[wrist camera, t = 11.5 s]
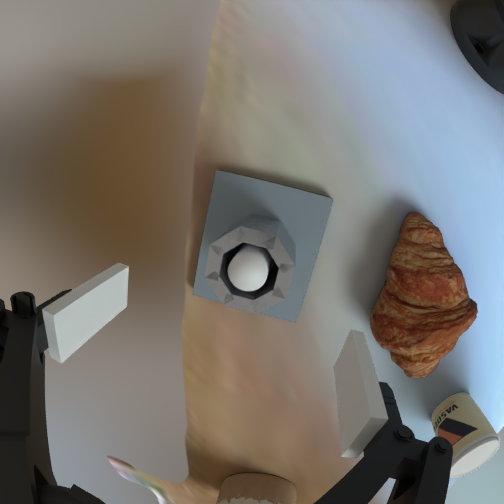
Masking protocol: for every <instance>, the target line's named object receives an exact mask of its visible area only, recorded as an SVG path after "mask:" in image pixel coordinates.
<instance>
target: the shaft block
mask: <svg viewBox="0 0 504 504" xmlns="http://www.w3.org/2000/svg"><path fill="white" fill-rule="evenodd" d="M332 202H333V199H332V198H330V197H326V196H323V195H319V194H315V193H312V192H308V191H304V190H301V189H297V188H293V187H289V186H285V185H281V184H277V183H273V182H269V181H265V180H261V179H257V178H252V177H248V176H244V175H239V174H235V173H230V172H226V171H221V170H216V173H215V177H214V182H213V187H212V191H211V196H210V201H209V206H208V211H207V216H206V221H205V227H204V232H203V237H202V243H201V248H200V254H199V259H198V265H197V271H196V277H195V283H194V289H193V295H196V296H199V297H203V298H206V299H210V300H213V301H216V302H220V303H221V301H220V300H219V298H218V297H217V295H216V294H215V293H214V291H213V290H212V288H211V287H210V285H209V284H208V282H207V281H206V279H205V278H204V275H205V270H206V264H207V258H208V253H209V248H210V244H211V243H212V242H213V241H215V240H216V239H217V238H218V237H219V236H220V235H221V234H223V233H224V232H225V231H226V230H227V229H228V228H230V227H231V226H233V225H234V224H236V223H238V222H239V221H241V220H243V219H244V218H246V217H247V216H249V215H251V214H252V213H253V214H257V215H261V216H265V217H269V218H273V219H277V220H281V221H282V223H283V225H284V226H285V228H286V230H287V231H288V233H289V235H290V236H291V238H292V240H293V241H294V243H295V245H296V267H295V270H294V274H293V277H292V281H291V284H290V288H289V291H288V294H287V298H286V299H285V300H283V301H281V302H279V303H277V304H275V305H273V306H272V307H270V308H268V309H266V310H264V311H262V312H260V314H264V315H267V316H271V317H275V318H279V319H283V320H287V321H291V322H295V323H296V320H297V317H298V314H299V311H300V308H301V305H302V302H303V299H304V296H305V293H306V290H307V287H308V284H309V281H310V278H311V274H312V271H313V268H314V265H315V261H316V258H317V255H318V251H319V248H320V245H321V241H322V238H323V234H324V231H325V227H326V224H327V220H328V217H329V213H330V210H331V206H332ZM235 253H236V255H235V256H234V258H233V259H232V261H231V262H230V264H229V267H228V276H229V279H230V281H231V282H232V284H233V285H234V286H235V287H237V288H238V289H240V290H243V291H254V290H257V289H259V288H260V287H261V286H262V285H263V284H264V283H265V281H266V279H267V275H268V272H269V269H270V268H272V267H274V266H275V265H277V264H276V263H275V261H274V259H273V258H272V256H271V254H270V253H269V251H268V250H267V248H264V247H260V246H256V245H252V244H248V243H244V242H243V243H241V244H239V245H237V248H236V252H235Z"/></svg>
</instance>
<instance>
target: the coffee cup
mask: <svg viewBox="0 0 504 504" xmlns="http://www.w3.org/2000/svg"><path fill="white" fill-rule="evenodd" d="M431 421H432V425H433V428H434V432H435V435H436V437H437V436H440V437H444V438H445V439H447V440H448V441H449V442H450V443H451V445H452V447H453V457H452V465H451V471H450V477H451V478H457V477H461V476H464V475H467V474H469V473H471V472H473V471H475V470H476V469H478V468H479V467H481V466H482V465H483V464H485V463H486V462H487V461H488V460H489V459H490V458H491V457H492V456H493V455H494V454H495V453H496V452H497V450H498V448H499V446H500V437H499V435H498V434H496V432H495V430H494V429H493V427H492V426H491V424H490V423H489V421H488V420H487V418H486V417H485V416H484V414H483V413H482V411H481V410H480V408H479V407H478V406H477V404H476V403H475V402H474V400H473V399H472V398H471V396H470V395H469V394H468V393H465V392H460V393H456V394H453V395H451V396H449V397H448V398H446V399H445V400H443V401H442V402H441V403H440V404H439V405H438V406H437V407H436V408H435V410H434V411H433V413H432V417H431Z"/></svg>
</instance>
